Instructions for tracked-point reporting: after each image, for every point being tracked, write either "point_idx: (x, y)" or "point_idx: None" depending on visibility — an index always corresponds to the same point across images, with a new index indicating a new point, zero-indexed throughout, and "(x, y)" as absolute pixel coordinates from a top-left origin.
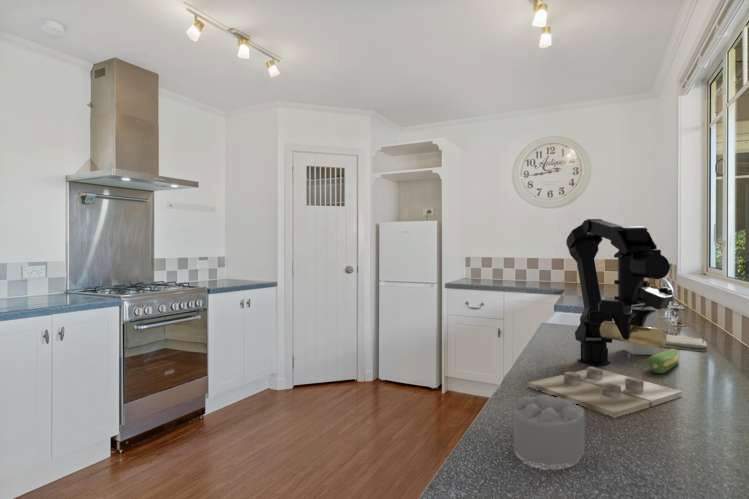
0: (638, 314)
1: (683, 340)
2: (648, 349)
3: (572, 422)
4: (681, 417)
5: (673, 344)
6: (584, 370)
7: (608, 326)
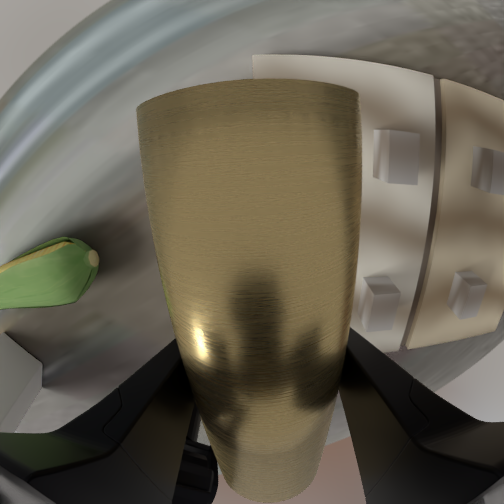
0: (128, 496)
1: None
2: (10, 350)
3: None
4: (423, 9)
5: None
6: None
7: (315, 465)
